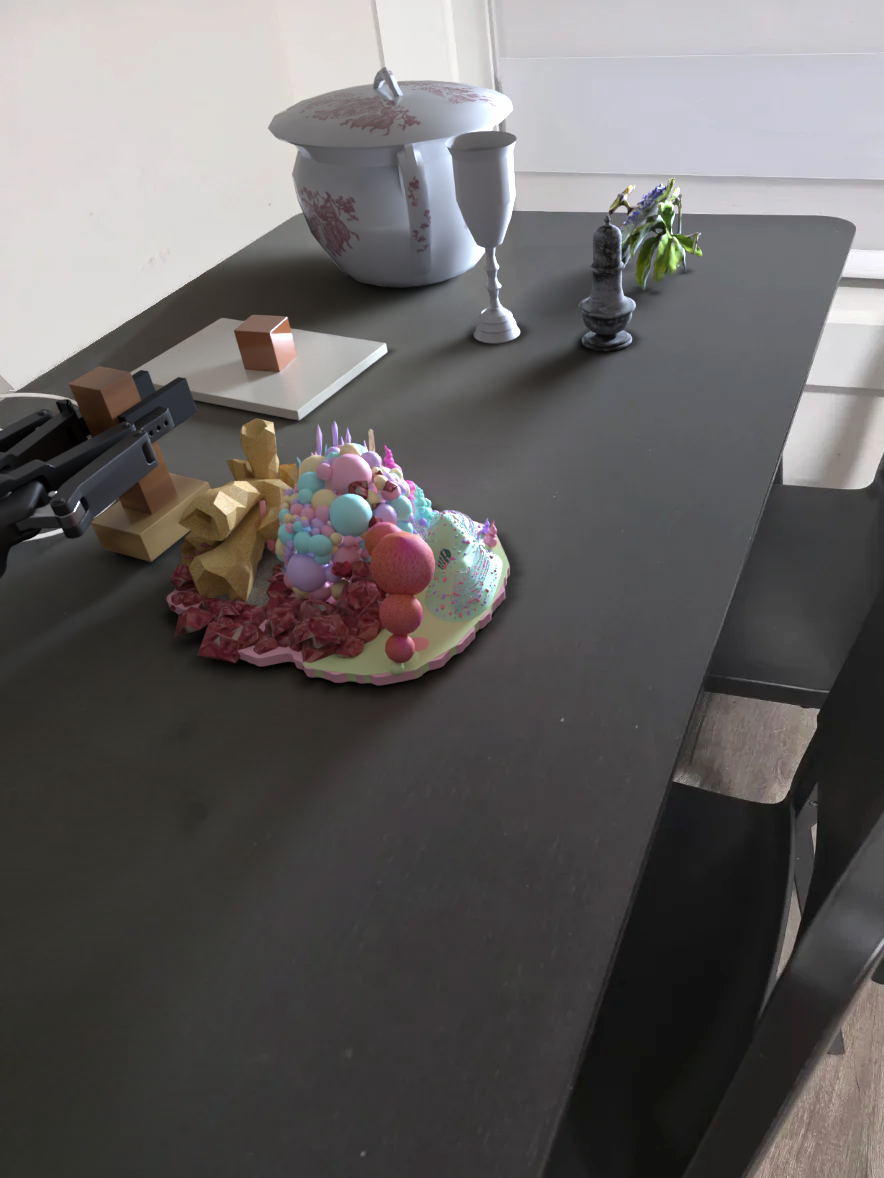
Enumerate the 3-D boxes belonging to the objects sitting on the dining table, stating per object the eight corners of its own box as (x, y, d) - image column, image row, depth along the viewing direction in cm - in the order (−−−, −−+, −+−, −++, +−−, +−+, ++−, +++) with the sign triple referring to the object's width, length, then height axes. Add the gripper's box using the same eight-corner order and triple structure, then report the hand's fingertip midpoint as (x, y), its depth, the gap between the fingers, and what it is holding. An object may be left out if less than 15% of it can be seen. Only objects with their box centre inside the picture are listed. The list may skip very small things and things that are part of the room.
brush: (102, 548, 70) (30, 397, 61) (171, 497, 75) (113, 349, 66) (151, 562, 69) (84, 409, 60) (218, 508, 74) (165, 359, 65)
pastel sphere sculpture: (118, 665, 61) (59, 553, 55) (254, 483, 77) (222, 380, 71) (471, 699, 57) (454, 582, 51) (538, 499, 73) (532, 391, 67)
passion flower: (622, 313, 113) (613, 211, 111) (709, 297, 110) (702, 192, 108) (605, 289, 102) (595, 175, 100) (702, 270, 99) (693, 152, 97)
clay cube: (244, 369, 91) (233, 330, 89) (262, 353, 94) (252, 314, 91) (280, 372, 91) (269, 332, 88) (297, 355, 93) (287, 316, 90)
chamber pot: (381, 223, 125) (352, 40, 110) (559, 243, 116) (552, 46, 101) (254, 297, 108) (199, 91, 93) (451, 327, 99) (424, 104, 84)
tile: (125, 386, 92) (121, 377, 92) (224, 326, 102) (221, 317, 102) (299, 420, 85) (296, 411, 84) (387, 352, 95) (386, 342, 94)
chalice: (465, 322, 100) (445, 133, 87) (526, 317, 100) (515, 128, 87) (466, 349, 94) (444, 153, 82) (530, 344, 95) (518, 148, 82)
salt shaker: (573, 350, 93) (570, 224, 84) (585, 327, 97) (583, 204, 88) (629, 353, 92) (632, 226, 83) (639, 330, 96) (642, 206, 87)
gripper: (-142, 580, 60) (110, 419, 74) (32, 638, 55) (266, 453, 69) (-215, 480, 54) (72, 328, 69) (-31, 534, 49) (238, 357, 64)
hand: (168, 391), depth 69 cm, fingers closed on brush, 3 cm apart
